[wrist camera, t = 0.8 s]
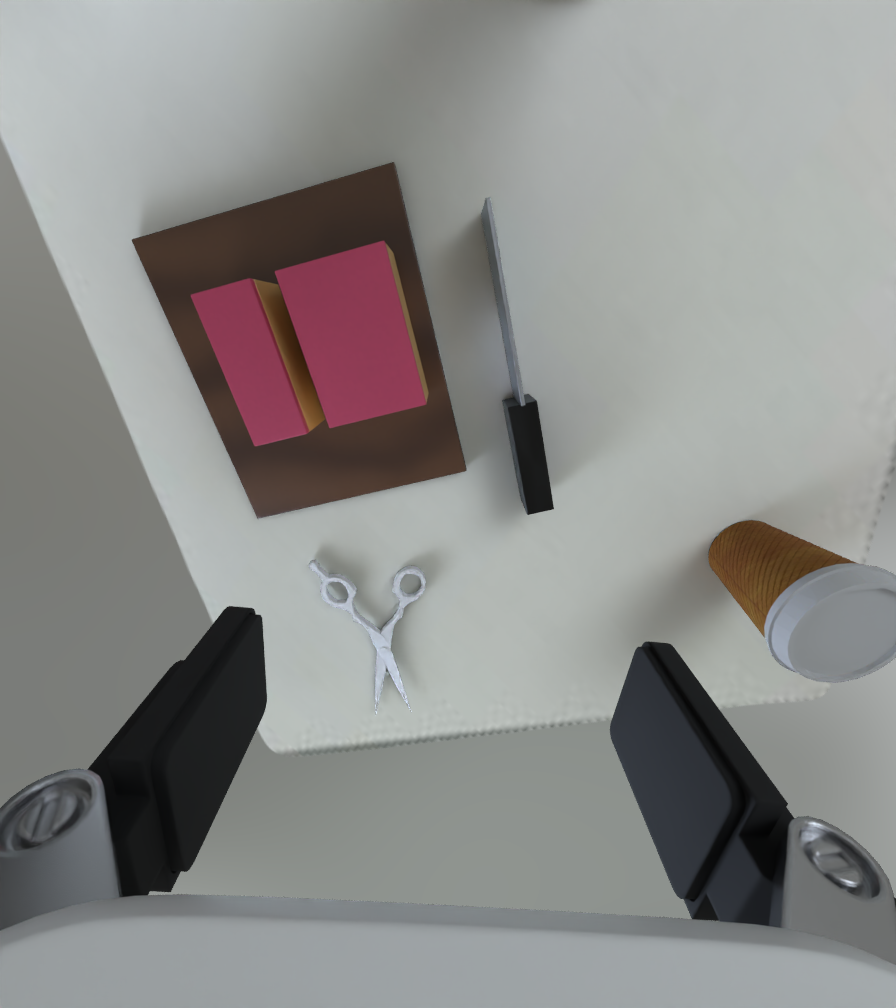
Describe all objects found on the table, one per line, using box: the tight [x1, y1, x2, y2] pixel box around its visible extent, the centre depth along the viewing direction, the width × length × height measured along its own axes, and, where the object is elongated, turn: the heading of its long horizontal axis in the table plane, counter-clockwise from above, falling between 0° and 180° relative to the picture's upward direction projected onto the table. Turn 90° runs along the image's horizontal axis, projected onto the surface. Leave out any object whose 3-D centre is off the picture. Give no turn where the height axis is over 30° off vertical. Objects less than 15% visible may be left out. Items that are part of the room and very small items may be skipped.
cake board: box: [132, 162, 466, 518], centre depth 34 cm, size 22×19×1 cm
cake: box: [275, 241, 429, 428], centre depth 30 cm, size 10×7×5 cm
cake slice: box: [191, 278, 325, 446], centre depth 31 cm, size 10×4×5 cm, turn 13°
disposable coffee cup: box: [708, 520, 896, 683], centre depth 35 cm, size 10×10×12 cm
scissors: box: [309, 560, 426, 715], centre depth 44 cm, size 11×1×20 cm
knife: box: [481, 197, 554, 515], centre depth 32 cm, size 22×2×4 cm, turn 14°
